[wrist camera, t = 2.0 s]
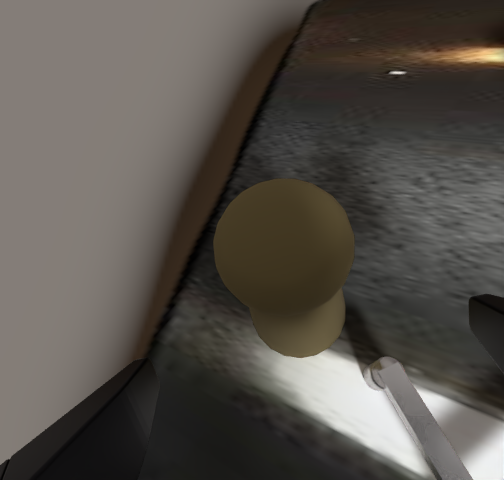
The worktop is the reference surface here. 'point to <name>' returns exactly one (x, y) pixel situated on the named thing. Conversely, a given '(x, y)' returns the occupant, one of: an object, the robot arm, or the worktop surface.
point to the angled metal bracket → (416, 418)
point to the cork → (287, 262)
